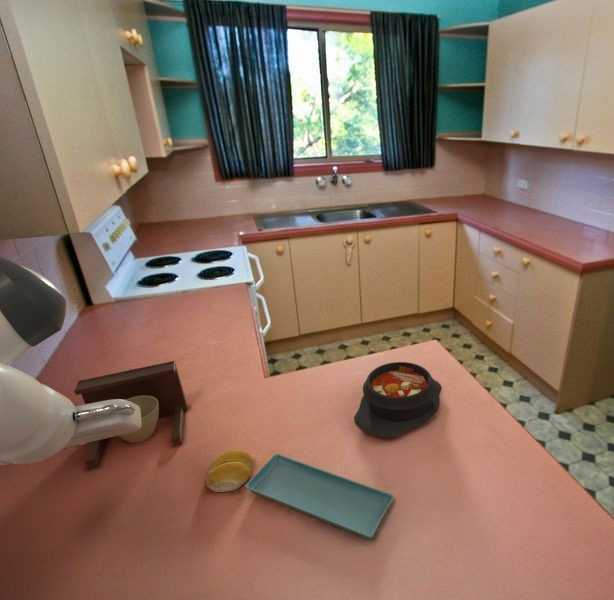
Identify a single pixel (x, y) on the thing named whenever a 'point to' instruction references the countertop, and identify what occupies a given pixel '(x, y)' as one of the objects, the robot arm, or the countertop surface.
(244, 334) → the countertop surface
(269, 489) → the rectangular tray
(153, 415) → the beige bowl
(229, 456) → the bread roll
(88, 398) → the cup rack
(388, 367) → the casserole
